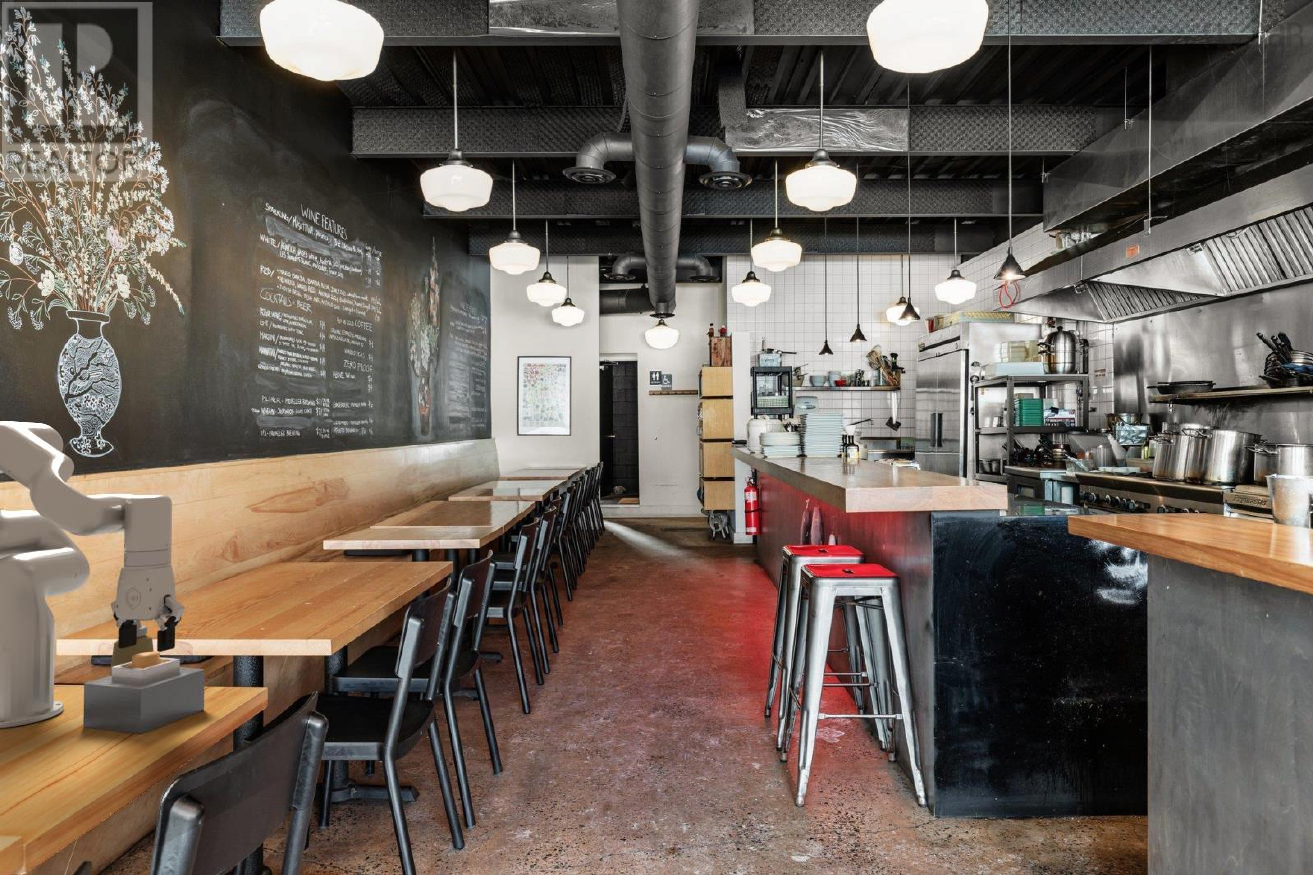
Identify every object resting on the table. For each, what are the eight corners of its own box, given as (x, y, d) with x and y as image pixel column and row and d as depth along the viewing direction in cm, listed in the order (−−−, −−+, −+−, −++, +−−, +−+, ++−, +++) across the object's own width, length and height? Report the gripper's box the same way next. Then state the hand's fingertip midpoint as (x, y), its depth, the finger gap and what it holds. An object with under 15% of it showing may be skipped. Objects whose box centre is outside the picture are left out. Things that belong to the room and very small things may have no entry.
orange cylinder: (124, 704, 136) (125, 656, 137) (147, 697, 141) (148, 651, 141) (142, 706, 135) (143, 658, 135) (164, 699, 139) (165, 652, 140)
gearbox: (83, 726, 133) (84, 669, 134) (150, 704, 146) (151, 651, 146) (140, 734, 129) (141, 675, 130) (204, 710, 142) (204, 656, 142)
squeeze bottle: (130, 704, 146) (132, 615, 146) (98, 702, 147) (99, 613, 148) (165, 691, 154) (166, 607, 154) (134, 689, 155) (135, 606, 156)
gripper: (94, 560, 137) (93, 650, 137) (164, 563, 133) (162, 656, 132) (133, 555, 145) (131, 640, 144) (200, 558, 140) (199, 646, 139)
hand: (146, 648), depth 138 cm, fingers open, 9 cm apart
